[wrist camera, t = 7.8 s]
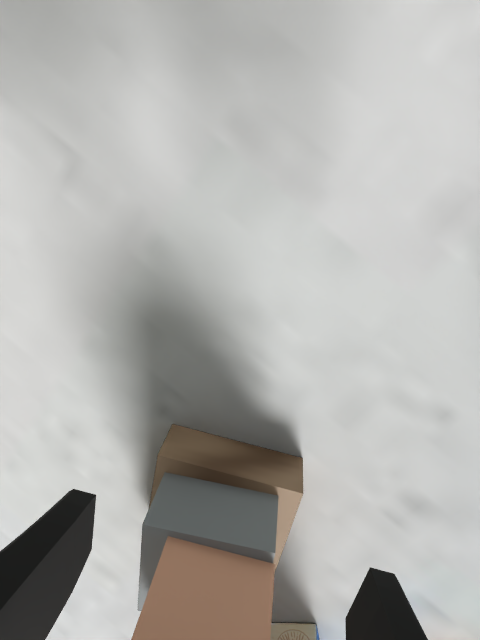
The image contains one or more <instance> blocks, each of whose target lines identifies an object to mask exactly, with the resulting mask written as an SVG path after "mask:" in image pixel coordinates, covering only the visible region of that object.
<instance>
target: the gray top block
mask: <svg viewBox="0 0 480 640" xmlns="http://www.w3.org/2000/svg"><path fill="white" fill-rule="evenodd" d="M278 498H279V496H278V495H273V494H268V493H263V492H258V491H254V490H249V489H244V488H239V487H234V486H229V485H225V484H220V483H215V482H210V481H205V480H200V479H196V478H191V477H186V476H181V475H176V474H171V473H166V472H165V473H164V475H163V477H162V480H161V482H160V484H159V487H158V489H157V492H156V494H155V496H154V499H153V501H152V503H151V506H150V508H149V510H148V513H147V515H146V518H145V520H144V522H143V526H142V543H141V560H140V577H139V594H138V611H142V608H143V605H144V602H145V599H146V597H147V594H148V591H149V588H150V585H151V582H152V580H153V577H154V574H155V571H156V568H157V565H158V563H159V560H160V557H161V554H162V551H163V548H164V546H165V543H166V540H167V537H168V536H170V537H173V538H177V539H181V540H185V541H189V542H193V543H196V544H200V545H204V546H208V547H212V548H216V549H219V550H223V551H227V552H231V553H235V554H238V555H242V556H246V557H250V558H254V559H258V560H261V561H265V562H269V563H273V561H274V557H275V551H276V534H277V516H278Z"/></svg>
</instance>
